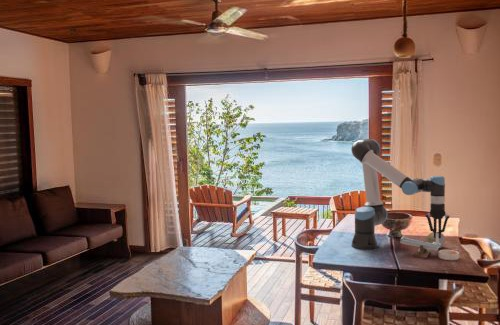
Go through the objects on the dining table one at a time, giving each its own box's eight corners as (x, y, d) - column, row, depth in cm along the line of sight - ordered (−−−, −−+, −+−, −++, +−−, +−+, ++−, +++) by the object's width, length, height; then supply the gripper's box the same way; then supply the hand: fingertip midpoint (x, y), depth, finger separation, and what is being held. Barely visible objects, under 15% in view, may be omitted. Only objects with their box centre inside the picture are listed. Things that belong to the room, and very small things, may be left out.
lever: (399, 243, 263) (400, 238, 262) (405, 237, 276) (405, 233, 276) (436, 251, 253) (437, 246, 253) (440, 245, 266) (441, 240, 266)
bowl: (437, 258, 253) (437, 253, 253) (439, 253, 262) (440, 248, 261) (457, 261, 248) (457, 255, 247) (459, 256, 257) (459, 250, 256)
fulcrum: (415, 256, 258) (415, 245, 257) (419, 250, 268) (419, 240, 267) (426, 257, 255) (427, 246, 254) (430, 252, 265) (430, 241, 264)
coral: (439, 239, 267) (426, 229, 275) (434, 252, 272) (422, 242, 280) (450, 235, 271) (438, 226, 279) (445, 249, 276) (433, 239, 284)
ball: (455, 251, 251) (457, 257, 251) (456, 249, 254) (458, 255, 254) (448, 252, 253) (451, 258, 252) (449, 251, 256) (452, 257, 255)
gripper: (424, 203, 262) (424, 244, 264) (449, 204, 256) (448, 246, 258) (426, 201, 269) (426, 241, 271) (450, 202, 262) (450, 243, 264)
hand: (437, 243), depth 264 cm, fingers closed
